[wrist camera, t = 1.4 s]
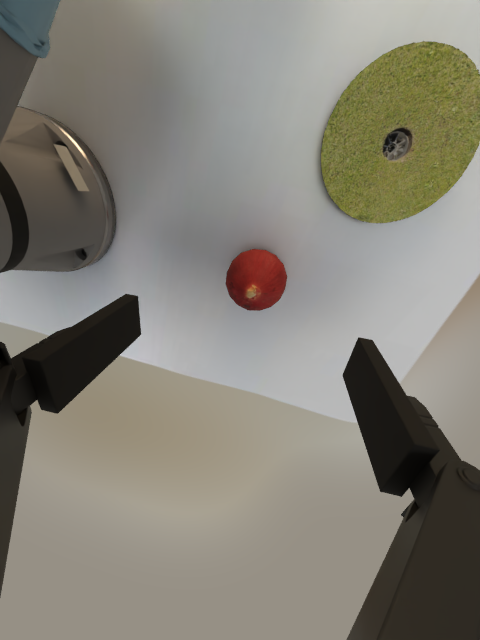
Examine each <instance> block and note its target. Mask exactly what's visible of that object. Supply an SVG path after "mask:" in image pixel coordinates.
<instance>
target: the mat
mask: <svg viewBox="0 0 480 640" xmlns="http://www.w3.org/2000/svg"><path fill="white" fill-rule="evenodd" d="M478 71H479V70H476V66H475V64H474V63H473V62H472V61H471V59H469V58H468V56H467V55H466V54H465V53H463V52H462V51H460V50H459V49H456V48H454V47H453V46H450V45H447V44H446V45H445V43H444V44H443V43H437V42H424V41H423V42H420V43H412V44H409V45H404V46H401V47H398V48H396V49H394V50H391V51H390V52H388V53H386V54H384V55H382V56H381V57H379V58H378V59H377V60H375V61H374V62H372V63H371V64H370V65H368V66H367V67H366V68H365V69H364V70H363V71H361V72H360V73H359V74H358V75H357V76H356V78H355V79H354V80H353V81H352V82H351V83H350V85H349V86H348V87H347V89H346V90H345V91H344V92H343V94H342V95H341V97H340V100H338V102H337V104H336V106H335V108H334V110H333V112H332V114H331V116H330V119H329V121H328V125H327V127H326V130H325V132H324V137H323V141H322V143H323V144H322V149H321V169H322V175H323V181H324V182H325V187H326V189H327V192H328V193H329V195H330V197H331V198H332V200H333V201H334V202H335V203H336V204H337V205H338V207H339V208H340V209H341V210H342V211H344V212H345V213H346V214H347V215H349V216H351V217H353V218H356V219H358V220H361V221H366V222H369V223H387V222H393V221H397V220H401V219H405V218H408V217H410V216H413V215H415V214H417V213H419V212H421V211H423V210H424V209H426V208H428V207H429V206H431V205H432V204H433V203H435V202H436V201H437V200H438V199H440V198H441V197H442V196H443V195H444V194H445V193H447V192H448V191H449V190H450V188H451V187H452V186H453V185H454V184H455V183H456V182H457V181H458V179H459V178H460V177H461V176H462V174H463V173H464V171H465V169H466V168H467V166H468V165H469V163H470V162H471V160H472V158H473V156H474V154H475V152H476V150H477V148H478V146H479V141H480V74H478V73H479V72H478Z"/></svg>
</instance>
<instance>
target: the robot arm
mask: <svg viewBox="0 0 480 640" xmlns="http://www.w3.org/2000/svg"><path fill="white" fill-rule="evenodd" d="M59 2H60V0H0V273H1V272H5V271H9V270H30V271H56V272H64V271H74V270H78V269H81V268H83V267H86V266H89V265H92V264H93V263H95V262H97V261H98V260H100V259H101V258H102V257H103V256H104V255H105V253H106V252H107V250H108V249H109V247H110V245H111V243H112V240H113V236H114V232H115V221H116V216H115V206H114V200H113V196H112V192H111V189H110V186H109V183H108V181H107V178H106V176H105V174H104V172H103V170H102V168H101V166H100V165H99V163H98V161H97V160H96V158H95V157H94V155H93V154H92V152H91V151H90V150H89V148H88V147H87V146H86V145H85V144H84V142H83V141H82V140H81V139H80V138H79V137H78V136H77V135H76V134H75V133H74V132H72V131H71V130H70V129H69V128H68V127H66V126H65V125H63V124H62V123H60V122H59V121H57V120H55V119H53V118H51V117H49V116H47V115H44V114H42V113H39V112H36V111H33V110H30V109H27V108H24V107H19V106H17V105H18V103H19V100H20V98H21V96H22V93H23V91H24V89H25V86H26V84H27V82H28V79H29V77H30V75H31V72H32V70H33V68H34V65H35V63H36V61H37V58H38V57H40V58H46V56H47V54H48V52H49V50H50V44H49V34H48V33H49V31H50V28H51V25H52V22H53V19H54V16H55V14H56V11H57V8H58V5H59ZM140 335H141V328H140V316H139V303H138V296H134V295H129V294H125V295H124V296H122V297H120V298H119V299H117V300H115V301H114V302H112V303H110V304H109V305H107V306H105V307H104V308H102V309H100V310H99V311H97V312H95V313H94V314H92V315H90V316H89V317H87V318H86V319H84V320H82V321H81V322H79V323H77V324H76V325H74V326H72V327H69V328H66V329H63V330H60V331H57V332H55V333H54V334H52V335H50V336H49V337H47V339H46V338H45V339H43V340H42V341H40V342H39V343H37V344H35V345H33V346H32V347H30V348H28V349H26V350H25V351H23V352H21V353H20V354H18V355H16V356H15V357H13V358H10V356H9V353H8V351H7V348H6V346H5V344H4V343H2V342H0V595H1V590H2V584H3V578H4V572H5V566H6V560H7V554H8V548H9V542H10V537H11V531H12V525H13V519H14V513H15V507H16V501H17V495H18V489H19V484H20V478H21V472H22V466H23V460H24V454H25V448H26V442H27V436H28V430H29V424H30V418H31V413H32V412H31V408H30V405H31V404H32V403H34V402H35V401H36V400H38V403H39V405H40V408H41V410H45V411H49V412H53V413H59V412H60V411H61V410H62V409H63V408H64V407H65V406H66V405H67V404H68V403H69V402H70V401H72V400H73V399H74V398H75V397H76V396H77V395H78V394H79V393H80V392H81V391H82V390H83V389H84V388H85V387H86V386H87V385H88V384H89V383H90V382H92V380H94V379H95V378H96V377H97V376H98V375H99V374H100V373H101V372H102V371H103V370H104V369H105V368H106V367H107V366H108V365H109V364H111V363H112V362H113V360H115V359H116V358H117V357H118V356H119V355H120V354H121V353H122V352H123V351H124V350H125V349H126V348H127V347H128V346H130V345H131V344H132V343H133V342H134V341H135V340H136V339H137V338H138V337H139V336H140ZM343 378H344V381H345V384H346V388H347V391H348V394H349V397H350V400H351V403H352V406H353V409H354V412H355V415H356V418H357V421H358V424H359V428H360V430H361V433H362V437H363V440H364V443H365V446H366V449H367V452H368V455H369V458H370V461H371V464H372V467H373V471H374V474H375V477H376V480H377V483H378V486H379V489H380V492H385V493H389V494H393V495H397V496H401V497H402V496H403V494H404V493H405V492H406V491H407V490H408V488H410V490H411V492H412V494H413V497H414V500H413V502H412V503H411V504H410V505H409V506H408V507H407V508H406V509H405V511H404V512H403V513H402V514H401V515H402V516H403V517H404V518H403V520H402V523H401V525H400V527H399V529H398V531H397V534H396V535H395V538H394V540H393V542H392V544H391V546H390V548H389V550H388V552H387V555H386V557H385V559H384V561H383V563H382V566H381V567H380V570H379V572H378V574H377V576H376V578H375V580H374V583H373V585H372V587H371V589H370V591H369V593H368V595H367V597H366V599H365V602H364V604H363V606H362V608H361V610H360V612H359V615H358V617H357V619H356V621H355V623H354V625H353V627H352V630H351V631H350V634H349V636H348V638H347V640H480V470H478V469H477V468H476V467H474V466H472V465H470V464H468V463H467V462H464V461H461V459H460V458H459V456H458V455H457V453H456V452H455V450H454V449H453V447H452V446H451V444H450V443H449V441H448V440H447V438H446V437H445V435H444V434H443V432H442V431H441V429H439V428H438V425H437V423H436V422H435V421H434V420H433V419H432V416H431V415H430V413H429V412H428V410H427V409H426V407H425V406H424V405H423V404H422V403H420V402H419V401H418V400H417V399H416V398H415V397H411V396H407V395H406V394H405V392H404V391H403V389H402V387H401V386H400V384H399V382H398V381H397V379H396V378H395V376H394V374H393V373H392V371H391V369H390V368H389V366H388V365H387V363H386V361H385V360H384V358H383V356H382V355H381V353H380V352H379V350H378V348H377V347H376V345H375V343H374V342H373V340H369V339H364V338H359V337H358V340H357V342H356V344H355V347H354V349H353V351H352V354H351V356H350V359H349V361H348V363H347V366H346V368H345V371H344V373H343Z"/></svg>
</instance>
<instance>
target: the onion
mask: <svg viewBox="0 0 480 640" xmlns="http://www.w3.org/2000/svg"><path fill="white" fill-rule="evenodd" d="M286 280H287V275H286V271H285V268H284V265H283V263H282V262H281V261H280V260H279V259H278V257H277V256H276V255H274V254H272V253H270V252H268V251H266V250H258V249H252V250H249V251H245V252H242V253H240V254H239V255H238V256H237V257H236V258H235V259H234V260H233V261H232V263H231V265H230V267H229V269H228V271H227V277H226V286H227V289H228V292H229V295H230V297H231V298H232V299H233V300H234V301H235V303H236V304H237V305H239V306H241V307H243V308H245V309H247V310H263V309H266V308H269V307H271V306H272V305H274V304H275V303H276V302H277V301H279V299H280V298H281V296H282V294H283V292H284V290H285V287H286Z"/></svg>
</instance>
